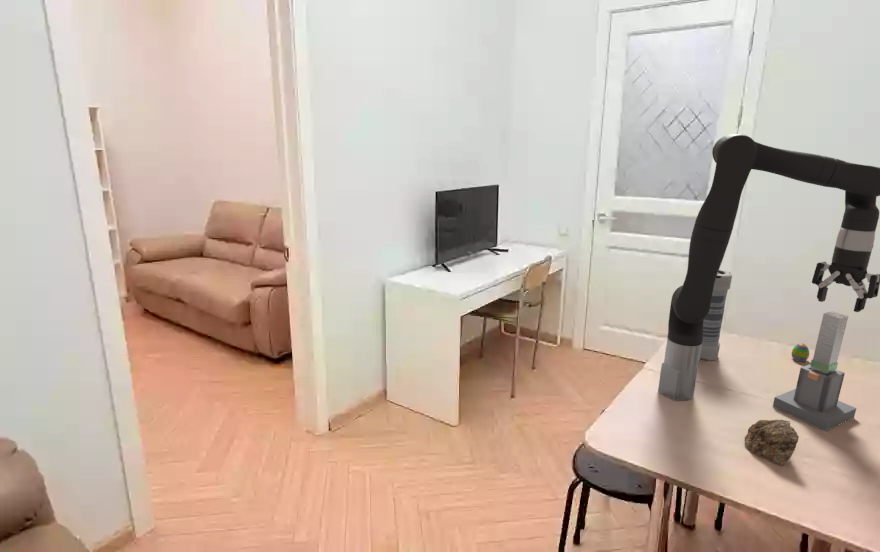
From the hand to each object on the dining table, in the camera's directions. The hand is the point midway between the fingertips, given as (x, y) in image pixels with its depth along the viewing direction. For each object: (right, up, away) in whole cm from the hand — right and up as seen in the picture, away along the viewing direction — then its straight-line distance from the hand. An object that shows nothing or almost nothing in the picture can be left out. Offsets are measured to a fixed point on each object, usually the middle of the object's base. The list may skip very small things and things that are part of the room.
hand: (838, 306), depth 140 cm
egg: (+17, -21, +41) cm, 49 cm away
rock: (-23, -36, -7) cm, 43 cm away
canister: (-14, -19, +45) cm, 51 cm away
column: (0, -21, +7) cm, 23 cm away
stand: (0, -30, +9) cm, 32 cm away
